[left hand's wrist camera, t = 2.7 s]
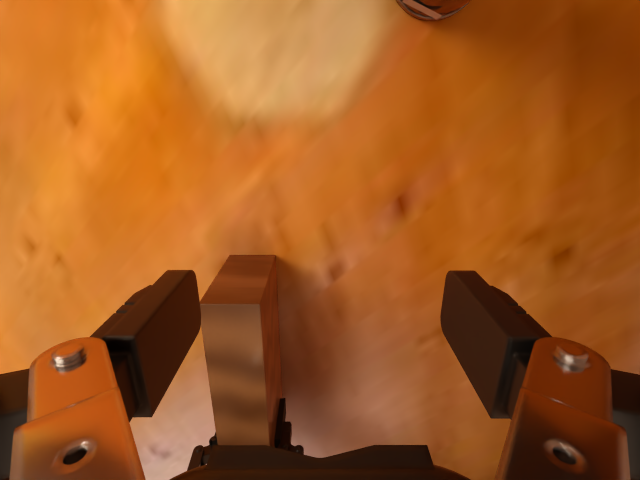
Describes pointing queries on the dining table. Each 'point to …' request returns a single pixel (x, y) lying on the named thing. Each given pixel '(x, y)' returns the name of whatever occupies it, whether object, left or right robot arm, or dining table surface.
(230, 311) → the box
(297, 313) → the dining table surface
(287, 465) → the left robot arm
